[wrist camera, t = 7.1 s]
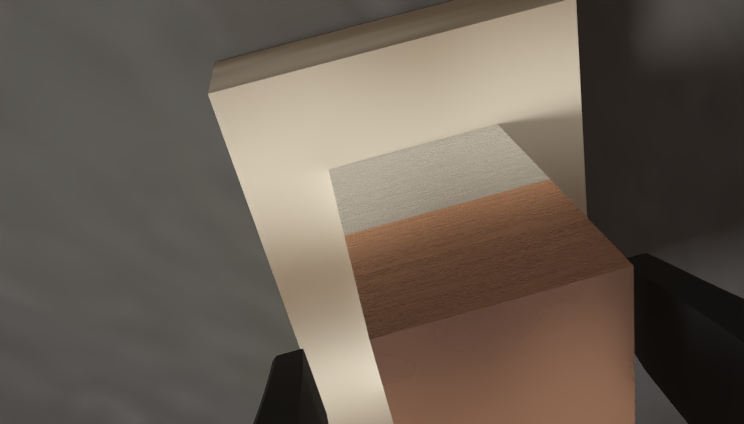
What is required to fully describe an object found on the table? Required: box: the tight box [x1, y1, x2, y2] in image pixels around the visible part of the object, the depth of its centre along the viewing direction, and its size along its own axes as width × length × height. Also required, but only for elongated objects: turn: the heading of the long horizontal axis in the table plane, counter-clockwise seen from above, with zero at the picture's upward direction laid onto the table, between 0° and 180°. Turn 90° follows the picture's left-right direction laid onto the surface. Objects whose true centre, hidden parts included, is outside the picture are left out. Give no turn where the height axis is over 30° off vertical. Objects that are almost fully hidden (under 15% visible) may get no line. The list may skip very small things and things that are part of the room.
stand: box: [208, 0, 587, 424], centre depth 17 cm, size 12×8×2 cm, turn 12°
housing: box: [328, 124, 635, 424], centre depth 13 cm, size 7×4×6 cm, turn 12°
